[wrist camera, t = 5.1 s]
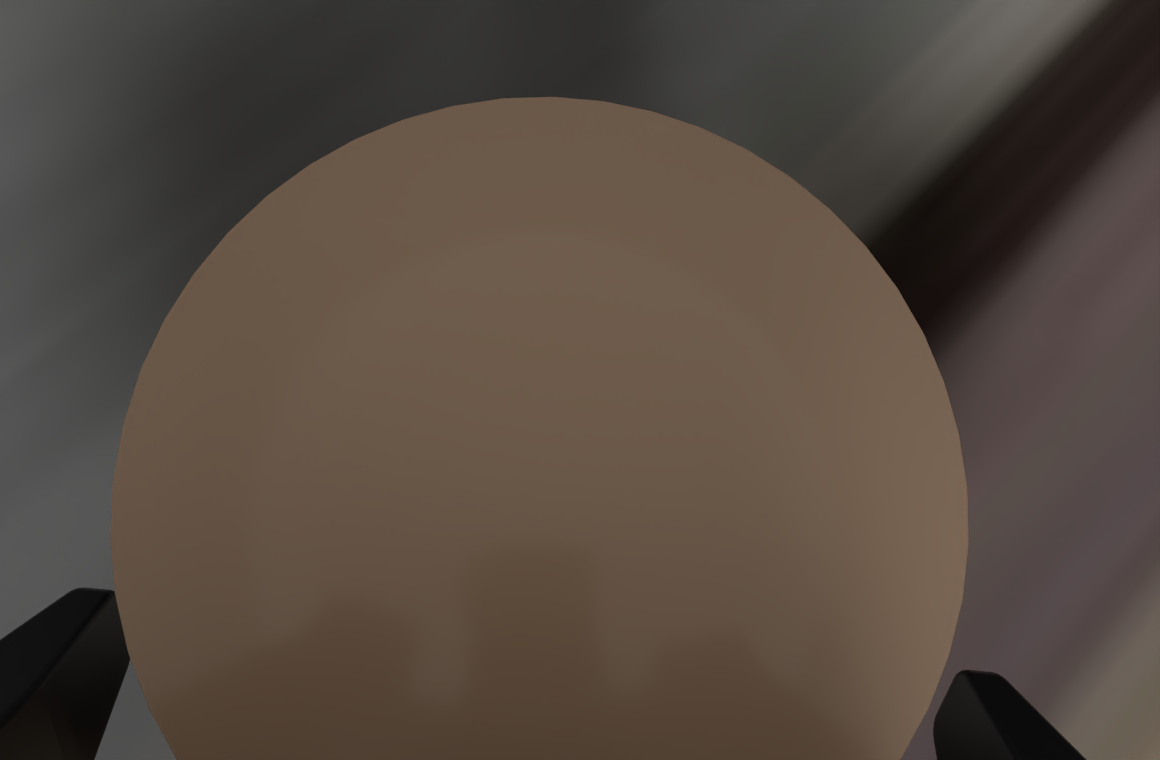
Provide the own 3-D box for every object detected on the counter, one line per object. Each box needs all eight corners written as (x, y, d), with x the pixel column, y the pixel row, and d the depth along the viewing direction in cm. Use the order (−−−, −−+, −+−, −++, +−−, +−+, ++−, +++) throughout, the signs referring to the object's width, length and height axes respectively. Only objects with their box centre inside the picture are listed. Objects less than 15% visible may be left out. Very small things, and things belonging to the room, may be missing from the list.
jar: (726, 636, 19) (1119, 727, 6) (455, 754, 18) (270, 1131, 5) (615, 376, 20) (756, -2, 7) (356, 477, 19) (9, 252, 7)
